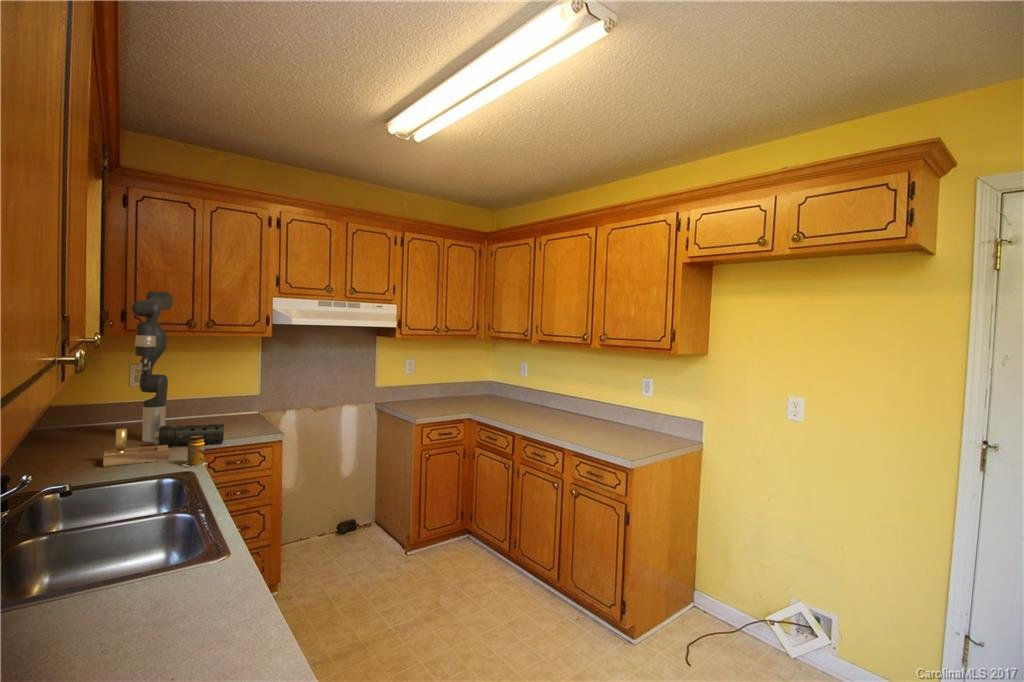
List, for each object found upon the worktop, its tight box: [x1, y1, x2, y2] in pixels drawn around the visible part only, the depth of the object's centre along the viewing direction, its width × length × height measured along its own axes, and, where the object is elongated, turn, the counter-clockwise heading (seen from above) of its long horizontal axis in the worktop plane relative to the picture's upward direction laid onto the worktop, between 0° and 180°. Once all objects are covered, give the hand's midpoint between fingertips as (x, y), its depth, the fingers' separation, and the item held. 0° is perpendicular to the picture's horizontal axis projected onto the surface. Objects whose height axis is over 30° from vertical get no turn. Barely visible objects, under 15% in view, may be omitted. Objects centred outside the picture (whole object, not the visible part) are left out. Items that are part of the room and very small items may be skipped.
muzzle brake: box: [154, 423, 225, 448], centre depth 241 cm, size 10×28×10 cm, turn 120°
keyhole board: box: [102, 445, 170, 467], centre depth 212 cm, size 12×22×4 cm, turn 128°
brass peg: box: [115, 428, 128, 453], centre depth 208 cm, size 5×5×14 cm
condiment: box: [186, 435, 208, 468], centre depth 210 cm, size 7×8×12 cm
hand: (144, 380), depth 222 cm, fingers open, 8 cm apart
